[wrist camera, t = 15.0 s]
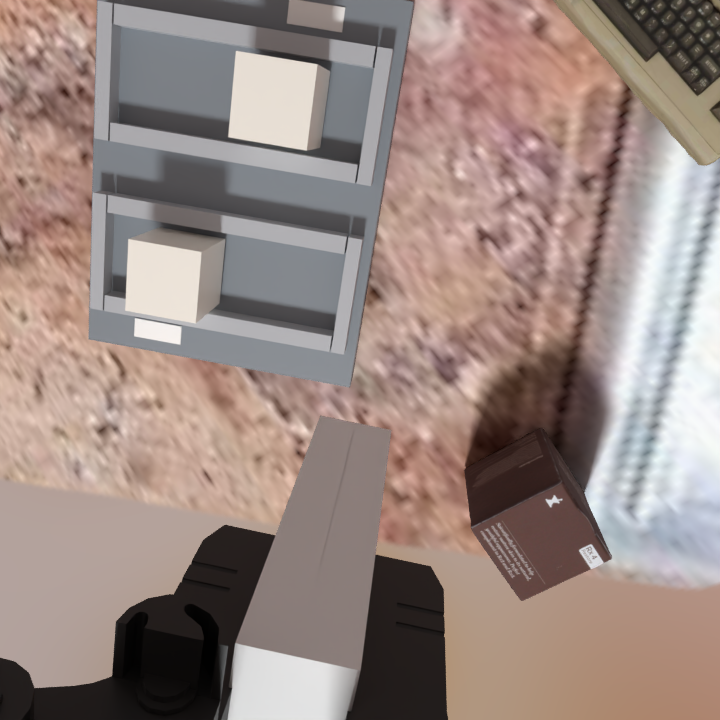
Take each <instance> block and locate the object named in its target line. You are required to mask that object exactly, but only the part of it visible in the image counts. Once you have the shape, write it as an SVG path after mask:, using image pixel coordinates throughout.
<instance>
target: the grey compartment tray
mask: <svg viewBox="0 0 720 720" xmlns="http://www.w3.org/2000/svg"><path fill="white" fill-rule="evenodd" d="M413 10H414V2H412V1H406V0H97V27H96V66H95V106H94V146H93V186H92V225H91V265H90V305H89V339H90V340H96V341H101V342H106V343H112V344H117V345H123V346H128V347H134V348H139V349H144V350H150V351H155V352H161V353H166V354H172V355H177V356H182V357H188V358H193V359H199V360H204V361H210V362H215V363H220V364H226V365H231V366H237V367H242V368H247V369H253V370H258V371H264V372H269V373H275V374H280V375H285V376H291V377H296V378H302V379H307V380H313V381H318V382H323V383H329V384H334V385H340V386H345V387H350V385H351V381H352V377H353V371H354V365H355V359H356V353H357V347H358V341H359V335H360V329H361V323H362V317H363V311H364V305H365V299H366V293H367V287H368V281H369V275H370V269H371V263H372V257H373V251H374V245H375V239H376V233H377V227H378V221H379V215H380V209H381V203H382V197H383V191H384V185H385V179H386V173H387V167H388V160H389V154H390V148H391V142H392V136H393V130H394V124H395V118H396V112H397V106H398V100H399V94H400V88H401V82H402V76H403V70H404V64H405V58H406V52H407V46H408V40H409V34H410V28H411V22H412V16H413ZM236 51H240V52H246V53H252V54H258V55H265V56H271V57H277V58H283V59H289V60H295V61H301V62H307V63H313V64H318V65H320V66H322V67H323V68H325V69H327V70H329V71H330V78H329V86H328V93H327V101H326V108H325V116H324V123H323V131H322V138H321V146H320V148H317V149H312V150H307V151H306V150H300V149H294V148H288V147H282V146H277V145H271V144H265V143H259V142H253V141H247V140H241V139H236V138H230V137H228V134H229V123H230V111H231V100H232V89H233V78H234V66H235V55H236ZM159 227H162V228H167V229H173V230H179V231H184V232H190V233H196V234H201V235H207V236H212V237H218V238H224V239H225V249H224V260H223V271H222V282H221V293H220V303H219V304H218V305H217V306H216V307H215V308H214V309H212V310H211V311H210V312H209V313H208V314H207V315H205V316H204V317H203V318H202V319H201V320H199V321H198V322H197V323H190V322H185V321H179V320H174V319H168V318H163V317H157V316H152V315H146V314H141V313H135V312H130V311H125V304H126V281H127V258H128V239H130V238H132V237H135V236H138V235H140V234H143V233H146V232H148V231H151V230H154V229H156V228H159Z"/></svg>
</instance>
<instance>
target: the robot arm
mask: <svg viewBox="0 0 720 720" xmlns="http://www.w3.org/2000/svg"><path fill="white" fill-rule="evenodd" d="M390 437H391V430H388V429H383V428H378V427H373V426H368V425H364V424H359V423H354V422H349V421H344V420H339V419H335V418H330V417H325V416H320V418H319V421H318V423H317V426H316V429H315V431H314V434H313V437H312V439H311V442H310V445H309V447H308V450H307V453H306V455H305V458H304V461H303V464H302V466H301V469H300V472H299V474H298V477H297V480H296V482H295V485H294V488H293V490H292V493H291V496H290V498H289V501H288V504H287V506H286V509H285V512H284V514H283V517H282V520H281V522H280V525H279V528H278V530H277V533H276V536H275V535H271V534H266V533H261V532H256V531H252V530H247V529H242V528H237V527H233V526H228V525H224V526H222V527H221V528H220V529H218V530H217V531H215V532H214V533H213V534H211V535H210V536H208V537H207V538H205V539H204V540H203V542H202V544H201V545H200V547H199V549H198V551H197V553H196V554H195V556H194V558H193V560H192V564H191V565H190V566H189V567H188V569H187V571H186V573H185V575H184V577H183V579H182V582H181V583H180V584H179V586H178V588H177V589H176V591H175V593H174V595H171V594H169V595H164V596H159V597H153V598H148V599H146V600H144V601H142V602H140V603H138V604H136V605H135V606H132V607H130V608H129V609H128V610H127V611H126V612H125V613H124V614H123V615H122V616H121V617H120V618H119V619H118V620H117V621H116V630H115V644H114V658H113V675H112V677H109V678H107V679H103V680H101V681H98V682H95V683H91V684H84V685H77V686H65V687H48V688H34V686H33V683H32V680H31V677H30V674H29V673H28V672H27V671H26V670H25V669H23V668H22V667H21V666H20V665H18V664H17V663H16V662H14V661H10V660H7V659H3V658H0V720H448V716H447V705H446V704H447V703H446V665H445V637H444V633H445V628H444V617H443V615H444V591H443V588H442V586H441V584H440V582H439V580H438V579H437V577H436V575H435V573H434V571H433V570H432V568H431V566H426V565H422V564H417V563H412V562H407V561H403V560H398V559H393V558H389V557H384V556H379V555H375V554H376V546H377V538H378V531H379V523H380V515H381V507H382V499H383V491H384V484H385V476H386V468H387V460H388V452H389V444H390Z"/></svg>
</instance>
